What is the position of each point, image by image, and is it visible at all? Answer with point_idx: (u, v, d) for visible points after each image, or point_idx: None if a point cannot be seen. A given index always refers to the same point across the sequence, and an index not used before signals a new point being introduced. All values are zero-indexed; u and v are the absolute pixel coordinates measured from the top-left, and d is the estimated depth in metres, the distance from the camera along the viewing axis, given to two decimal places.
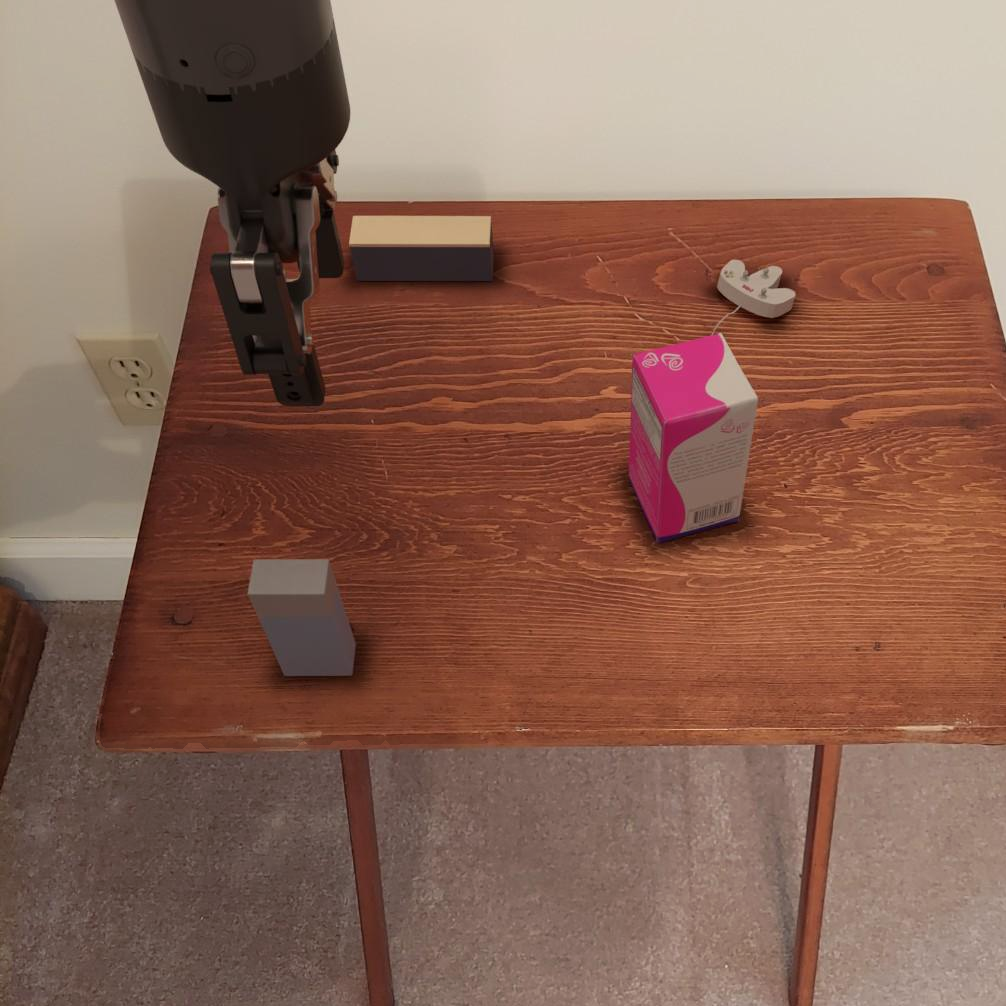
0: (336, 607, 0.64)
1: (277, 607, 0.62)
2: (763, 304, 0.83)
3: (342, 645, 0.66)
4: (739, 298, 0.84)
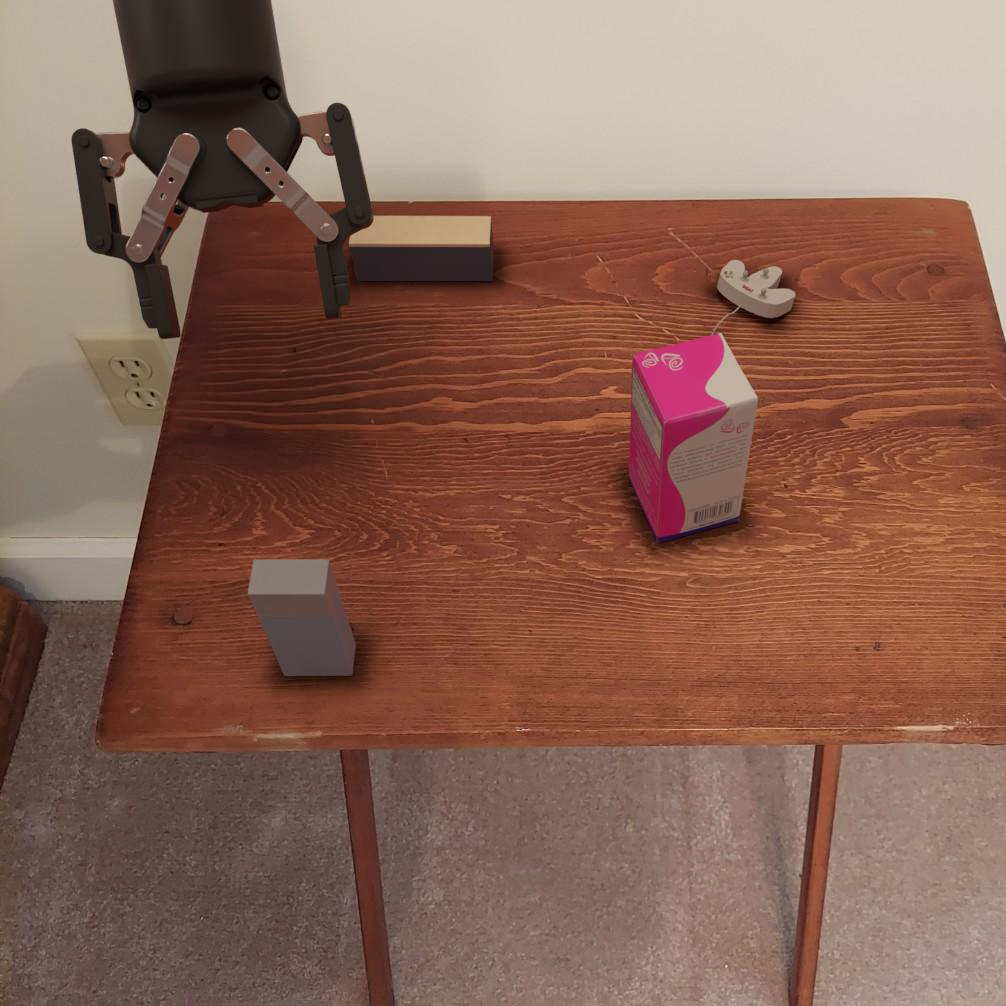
0: (336, 607, 0.64)
1: (277, 607, 0.62)
2: (763, 304, 0.83)
3: (342, 645, 0.66)
4: (739, 299, 0.84)
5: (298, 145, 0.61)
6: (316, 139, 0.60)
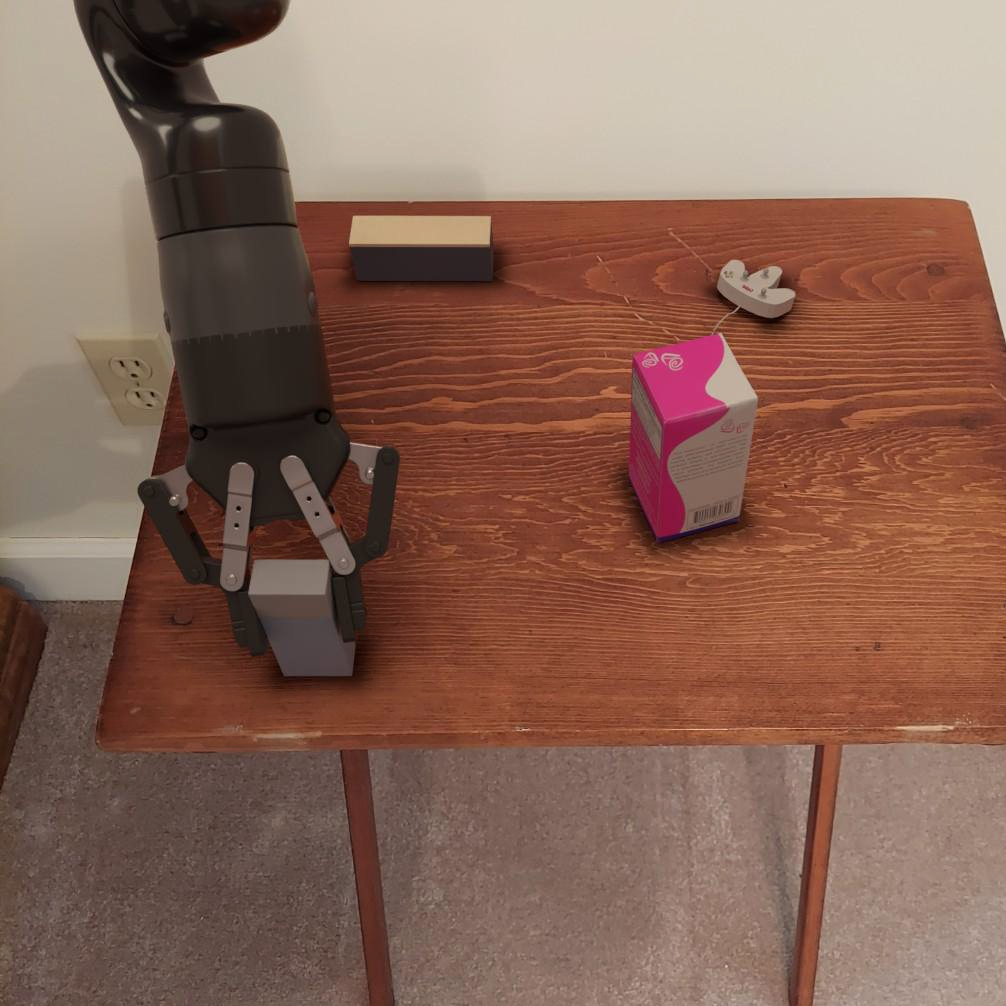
0: (336, 607, 0.64)
1: (278, 607, 0.62)
2: (763, 304, 0.83)
3: (342, 645, 0.66)
4: (739, 299, 0.84)
5: None
6: (360, 468, 0.62)
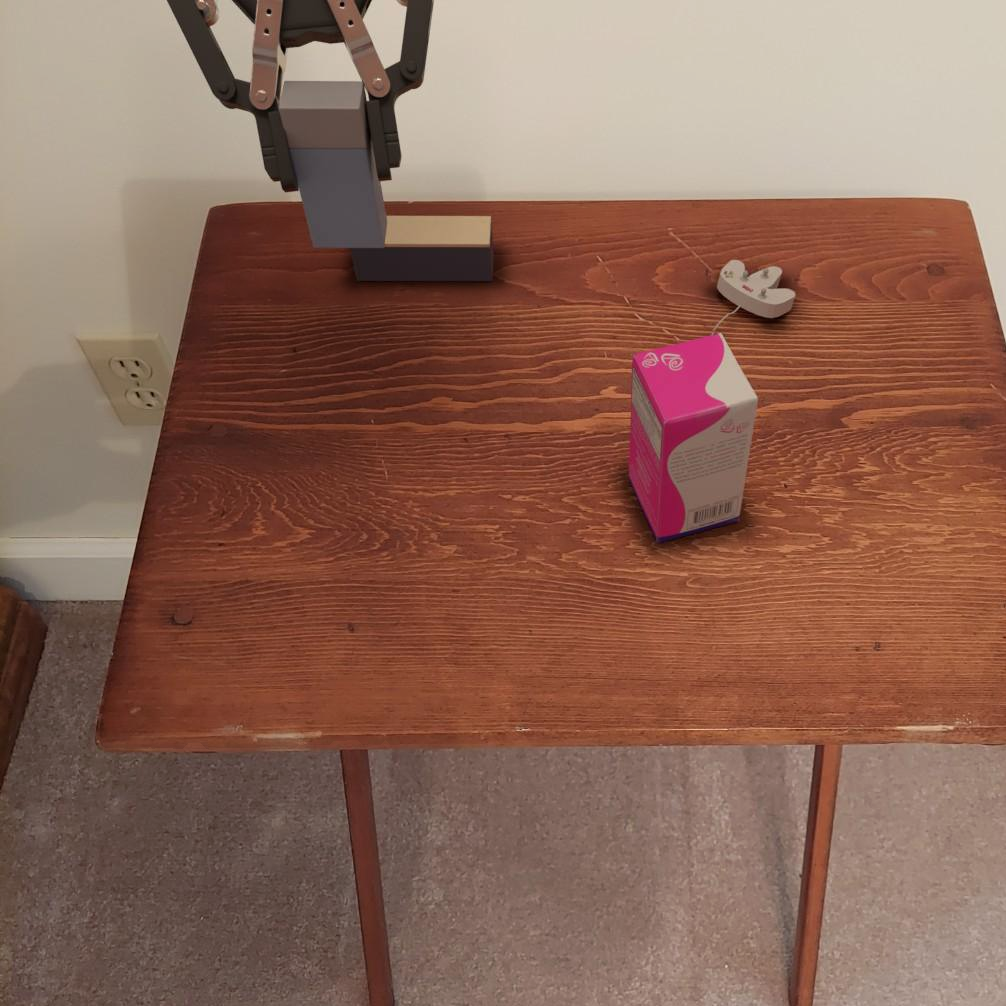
0: (370, 146, 0.62)
1: (309, 131, 0.60)
2: (763, 304, 0.83)
3: (375, 197, 0.63)
4: (739, 299, 0.84)
5: None
6: None
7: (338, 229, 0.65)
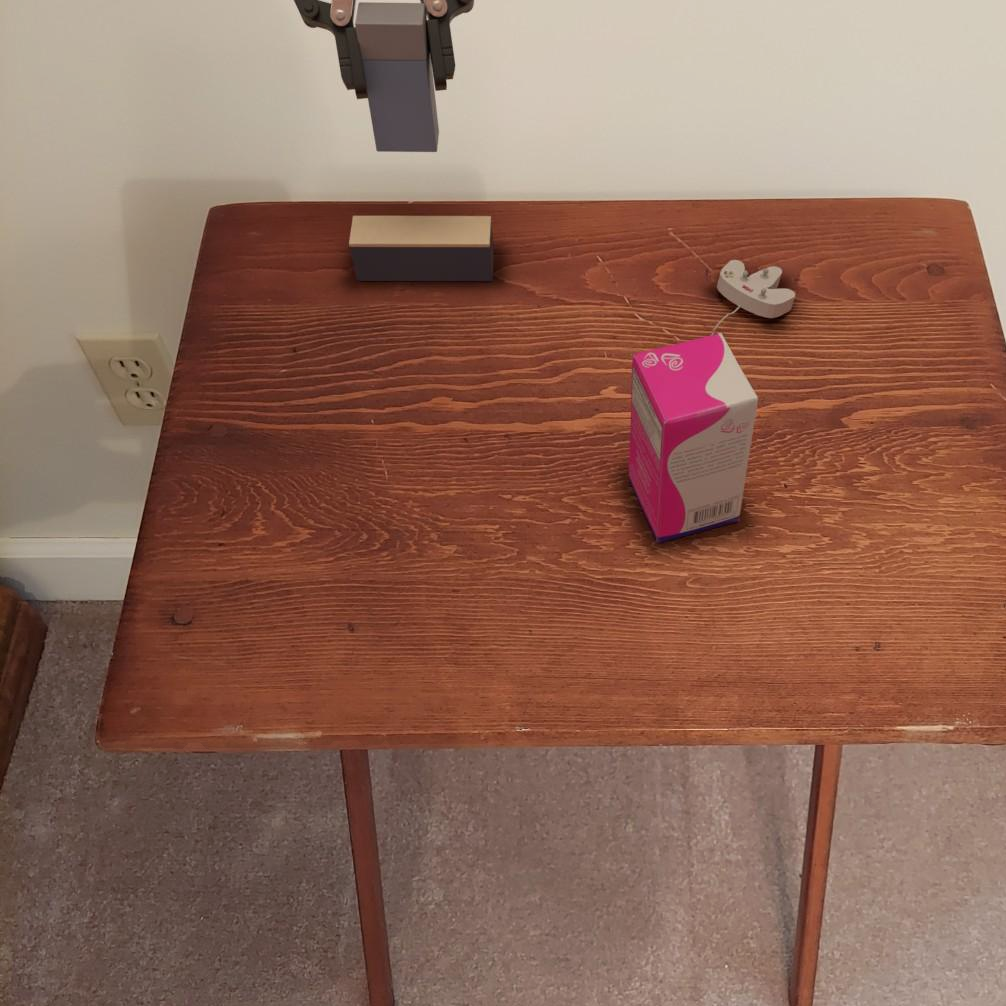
0: (428, 60, 0.73)
1: (379, 44, 0.71)
2: (763, 304, 0.83)
3: (431, 105, 0.75)
4: (739, 299, 0.84)
5: None
6: None
7: (398, 134, 0.77)
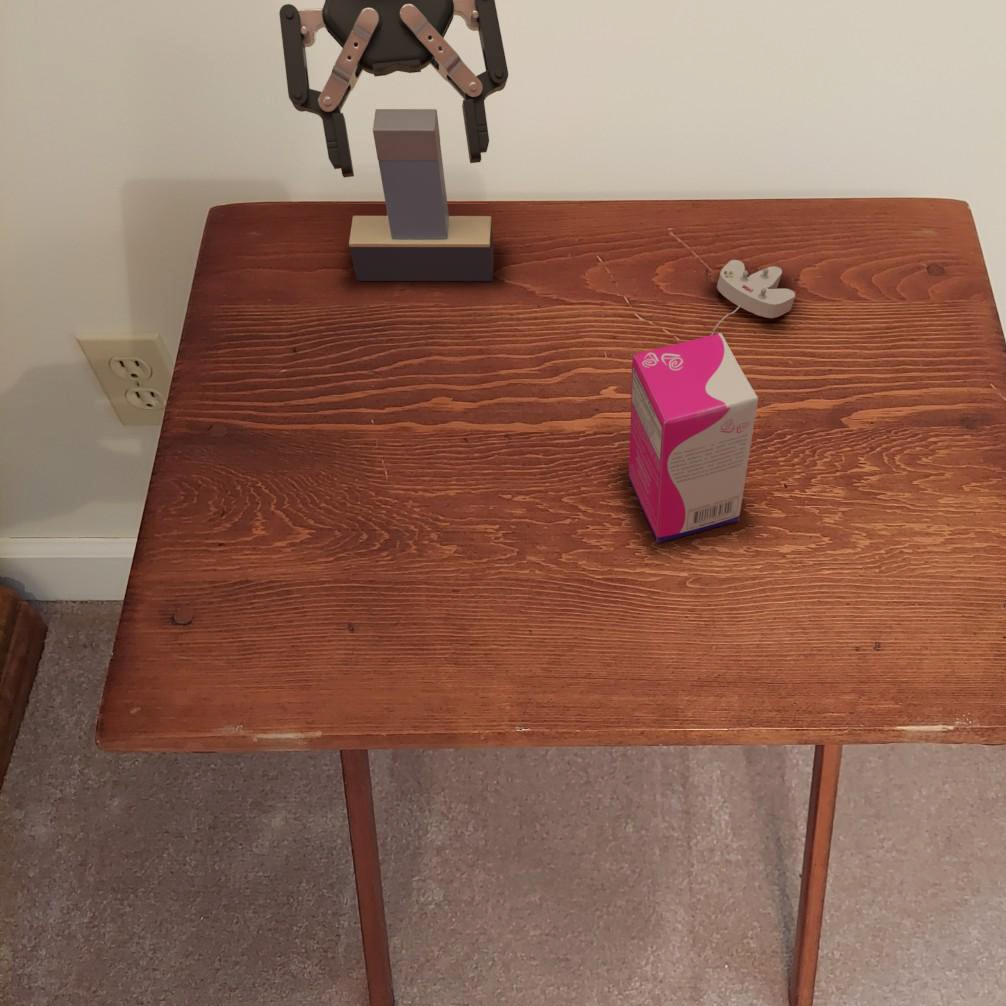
0: (440, 159, 0.79)
1: (395, 147, 0.77)
2: (763, 304, 0.83)
3: (442, 199, 0.81)
4: (739, 299, 0.84)
5: (449, 22, 0.77)
6: (465, 16, 0.77)
7: (412, 224, 0.83)
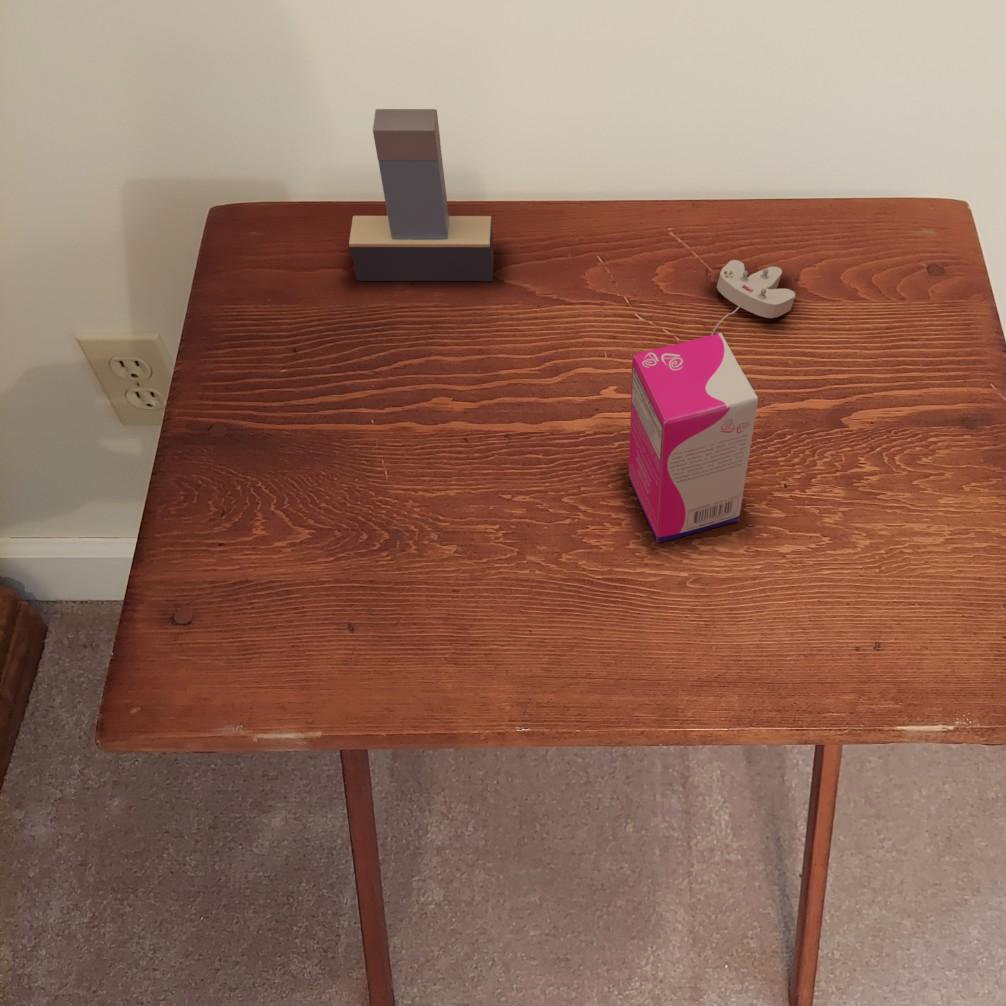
0: (440, 159, 0.79)
1: (395, 147, 0.77)
2: (763, 304, 0.83)
3: (442, 199, 0.81)
4: (739, 299, 0.84)
5: None
6: None
7: (412, 224, 0.83)
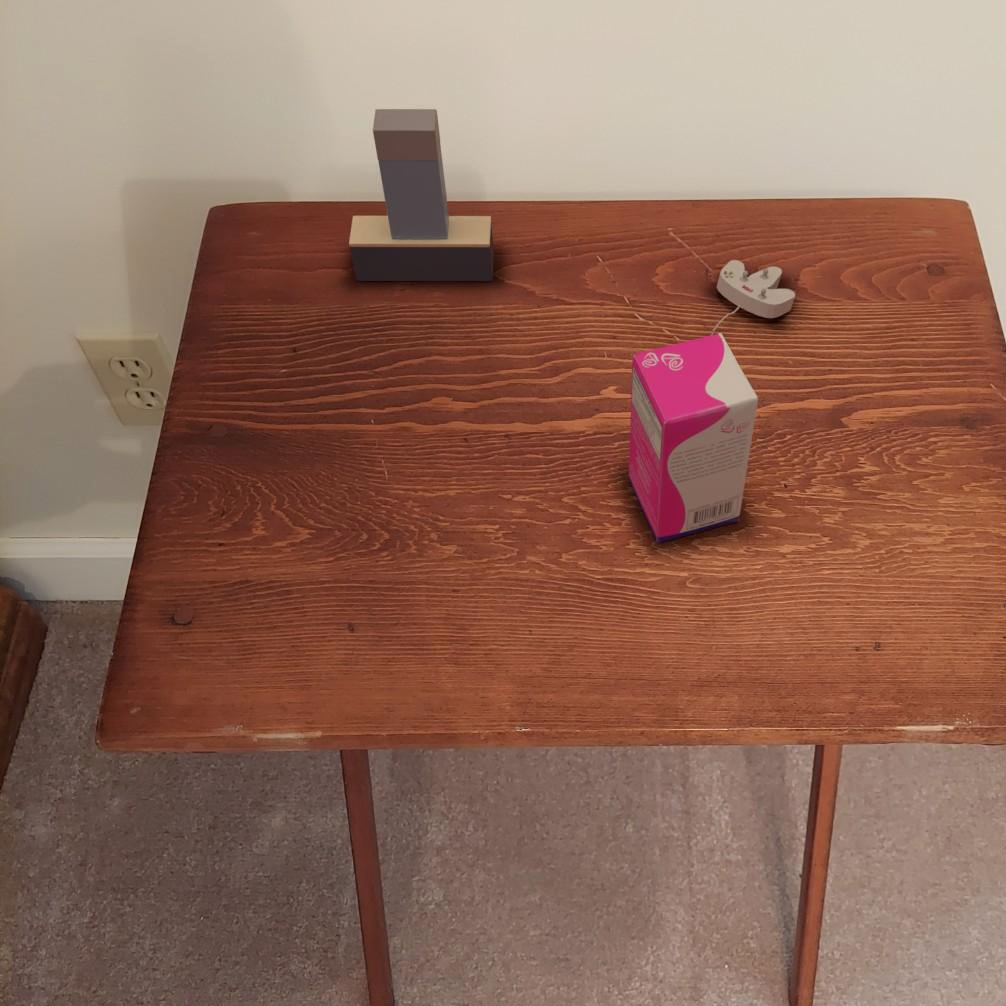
0: (440, 159, 0.79)
1: (395, 147, 0.77)
2: (763, 304, 0.83)
3: (442, 199, 0.81)
4: (739, 299, 0.84)
5: None
6: None
7: (412, 224, 0.83)
